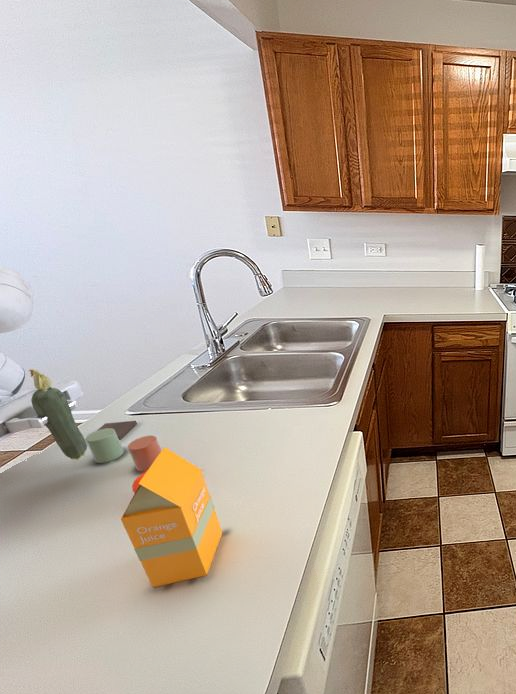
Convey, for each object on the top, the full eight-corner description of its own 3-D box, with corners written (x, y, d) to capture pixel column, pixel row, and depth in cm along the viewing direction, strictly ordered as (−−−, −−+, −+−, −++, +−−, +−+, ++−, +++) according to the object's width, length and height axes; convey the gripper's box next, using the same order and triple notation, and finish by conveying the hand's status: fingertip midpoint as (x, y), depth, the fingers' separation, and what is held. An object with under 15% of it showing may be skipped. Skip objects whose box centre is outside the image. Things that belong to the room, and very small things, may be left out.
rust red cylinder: (131, 473, 86) (122, 450, 84) (144, 458, 91) (136, 436, 88) (157, 470, 87) (148, 448, 85) (169, 455, 92) (161, 434, 89)
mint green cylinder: (89, 464, 89) (79, 442, 87) (104, 450, 93) (95, 429, 91) (115, 461, 90) (105, 439, 87) (128, 448, 94) (119, 426, 92)
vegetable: (95, 458, 79) (55, 368, 71) (66, 471, 75) (20, 378, 68) (87, 451, 81) (47, 363, 73) (58, 463, 78) (13, 371, 70)
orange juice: (151, 588, 62) (104, 489, 54) (174, 542, 70) (136, 450, 62) (208, 575, 64) (170, 478, 56) (224, 532, 72) (193, 441, 64)
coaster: (87, 443, 96) (85, 439, 96) (106, 426, 102) (105, 423, 102) (120, 439, 97) (118, 436, 97) (137, 423, 104) (135, 420, 103)
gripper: (48, 398, 85) (113, 399, 85) (-76, 461, 66) (7, 462, 66) (36, 372, 82) (102, 373, 82) (-97, 430, 63) (-11, 431, 63)
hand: (59, 413), depth 74 cm, fingers closed on vegetable, 4 cm apart
